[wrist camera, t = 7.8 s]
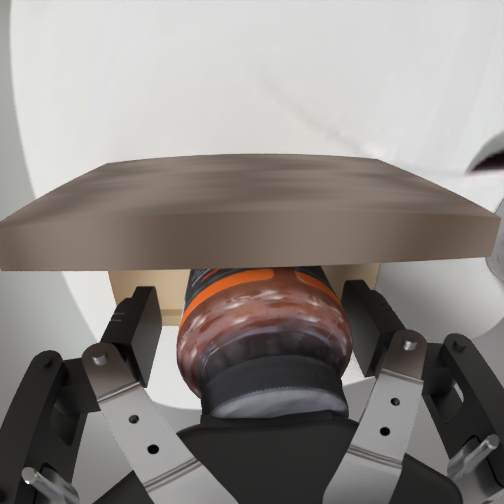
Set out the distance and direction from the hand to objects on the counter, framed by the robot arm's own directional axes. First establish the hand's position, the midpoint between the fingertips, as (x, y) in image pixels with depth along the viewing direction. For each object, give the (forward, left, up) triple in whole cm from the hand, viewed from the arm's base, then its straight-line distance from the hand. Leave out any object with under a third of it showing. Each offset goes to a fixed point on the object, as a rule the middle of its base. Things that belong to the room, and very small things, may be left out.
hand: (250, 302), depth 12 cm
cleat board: (0, -1, -8) cm, 8 cm away
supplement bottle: (0, 0, -5) cm, 5 cm away
